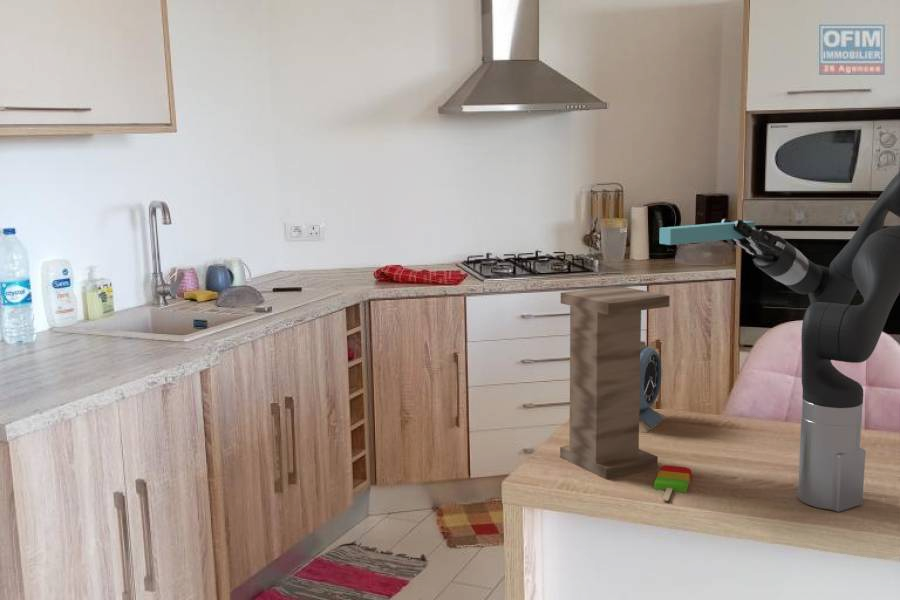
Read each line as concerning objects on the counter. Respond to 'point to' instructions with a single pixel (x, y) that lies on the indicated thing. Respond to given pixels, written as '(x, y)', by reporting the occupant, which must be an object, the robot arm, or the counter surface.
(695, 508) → the counter surface
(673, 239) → the teal bar
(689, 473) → the popsicle
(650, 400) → the alarm clock
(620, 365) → the shelf stand
